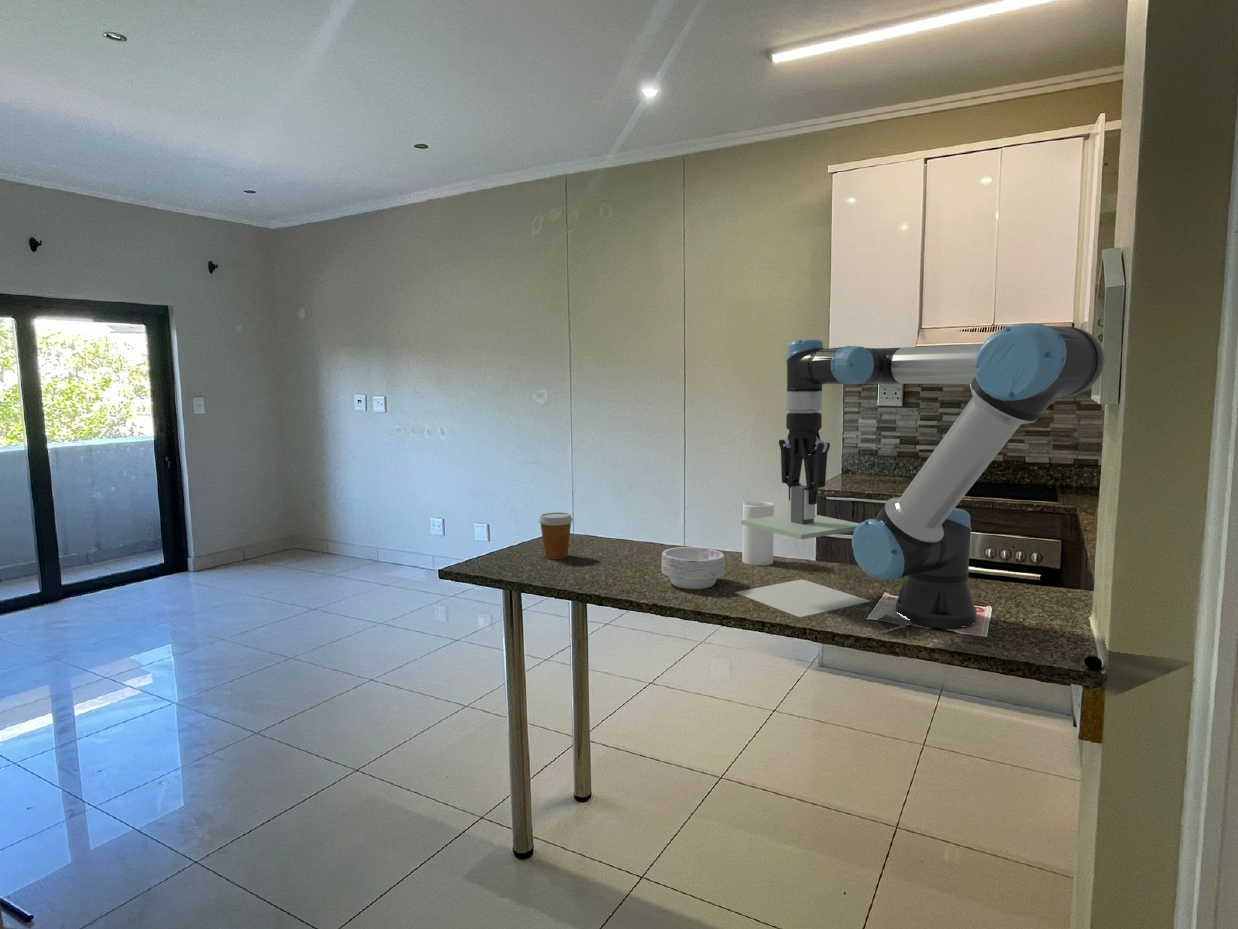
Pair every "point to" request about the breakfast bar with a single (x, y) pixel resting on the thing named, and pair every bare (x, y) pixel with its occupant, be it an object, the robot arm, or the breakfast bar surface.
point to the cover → (800, 521)
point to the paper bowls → (693, 566)
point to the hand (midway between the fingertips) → (802, 517)
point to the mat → (802, 597)
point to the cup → (757, 535)
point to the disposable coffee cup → (556, 534)
